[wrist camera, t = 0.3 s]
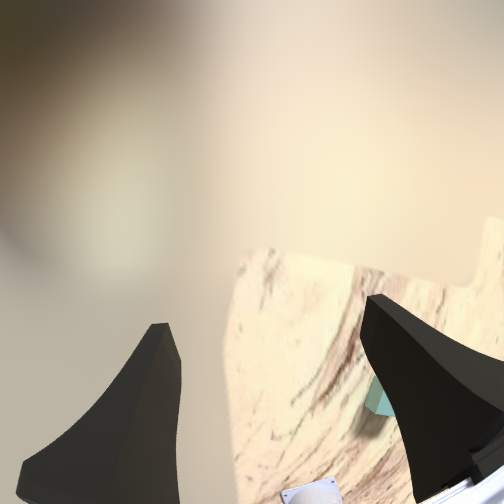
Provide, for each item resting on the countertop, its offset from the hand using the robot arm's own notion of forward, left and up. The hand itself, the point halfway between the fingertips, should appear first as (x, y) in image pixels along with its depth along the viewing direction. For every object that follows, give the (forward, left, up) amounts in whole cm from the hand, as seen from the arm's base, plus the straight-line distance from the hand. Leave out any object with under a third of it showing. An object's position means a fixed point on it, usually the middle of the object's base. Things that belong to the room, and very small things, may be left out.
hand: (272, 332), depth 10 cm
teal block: (-14, -12, -30) cm, 35 cm away
